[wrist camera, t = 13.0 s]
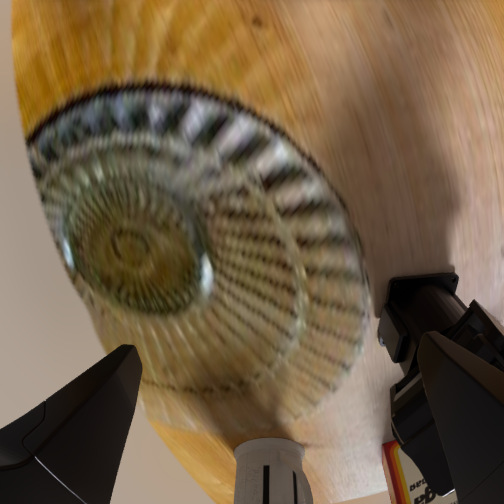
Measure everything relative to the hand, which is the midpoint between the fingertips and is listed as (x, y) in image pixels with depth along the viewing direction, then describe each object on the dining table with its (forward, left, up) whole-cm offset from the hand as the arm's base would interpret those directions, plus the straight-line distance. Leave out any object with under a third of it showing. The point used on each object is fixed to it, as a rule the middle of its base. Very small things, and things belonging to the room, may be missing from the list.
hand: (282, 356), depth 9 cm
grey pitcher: (0, +27, -13) cm, 30 cm away
